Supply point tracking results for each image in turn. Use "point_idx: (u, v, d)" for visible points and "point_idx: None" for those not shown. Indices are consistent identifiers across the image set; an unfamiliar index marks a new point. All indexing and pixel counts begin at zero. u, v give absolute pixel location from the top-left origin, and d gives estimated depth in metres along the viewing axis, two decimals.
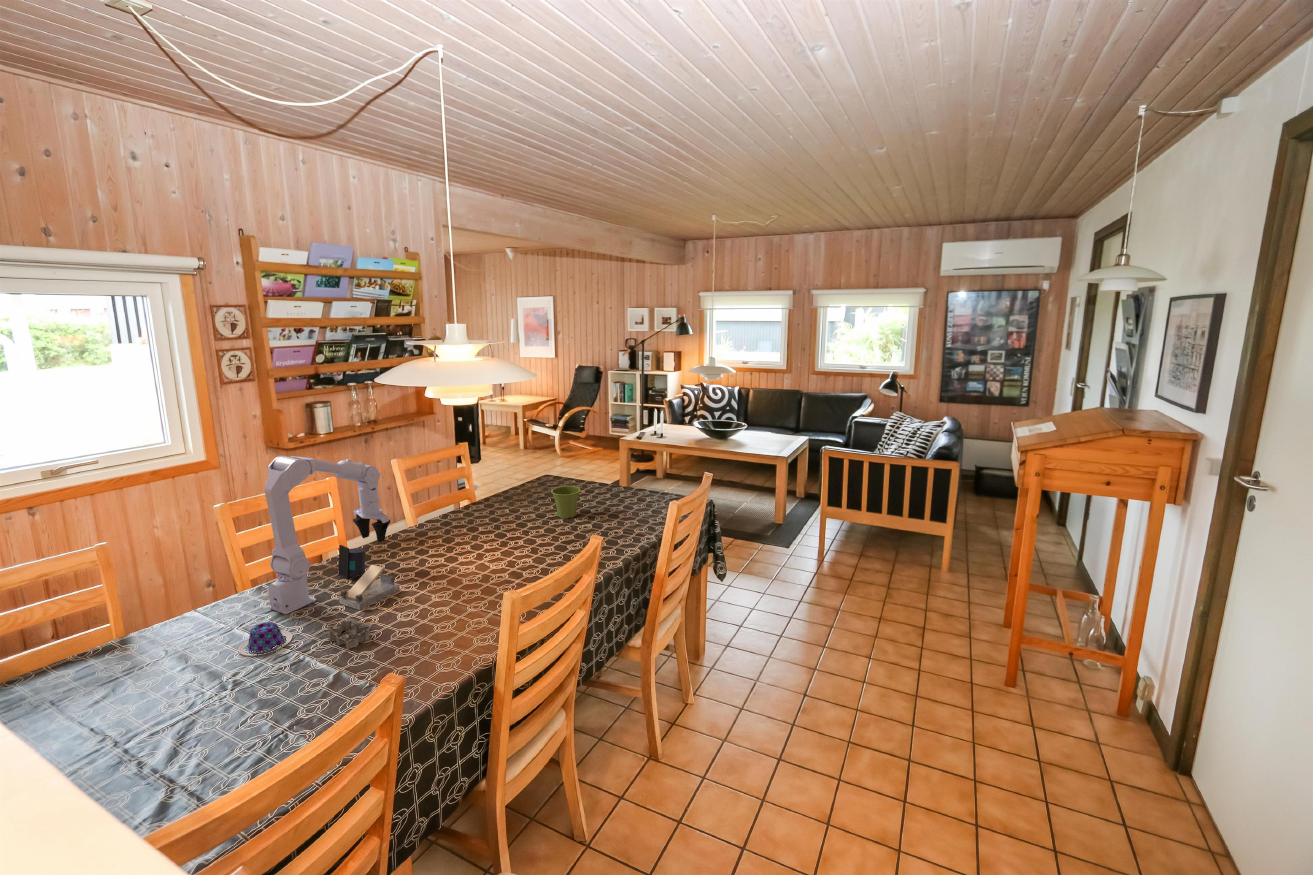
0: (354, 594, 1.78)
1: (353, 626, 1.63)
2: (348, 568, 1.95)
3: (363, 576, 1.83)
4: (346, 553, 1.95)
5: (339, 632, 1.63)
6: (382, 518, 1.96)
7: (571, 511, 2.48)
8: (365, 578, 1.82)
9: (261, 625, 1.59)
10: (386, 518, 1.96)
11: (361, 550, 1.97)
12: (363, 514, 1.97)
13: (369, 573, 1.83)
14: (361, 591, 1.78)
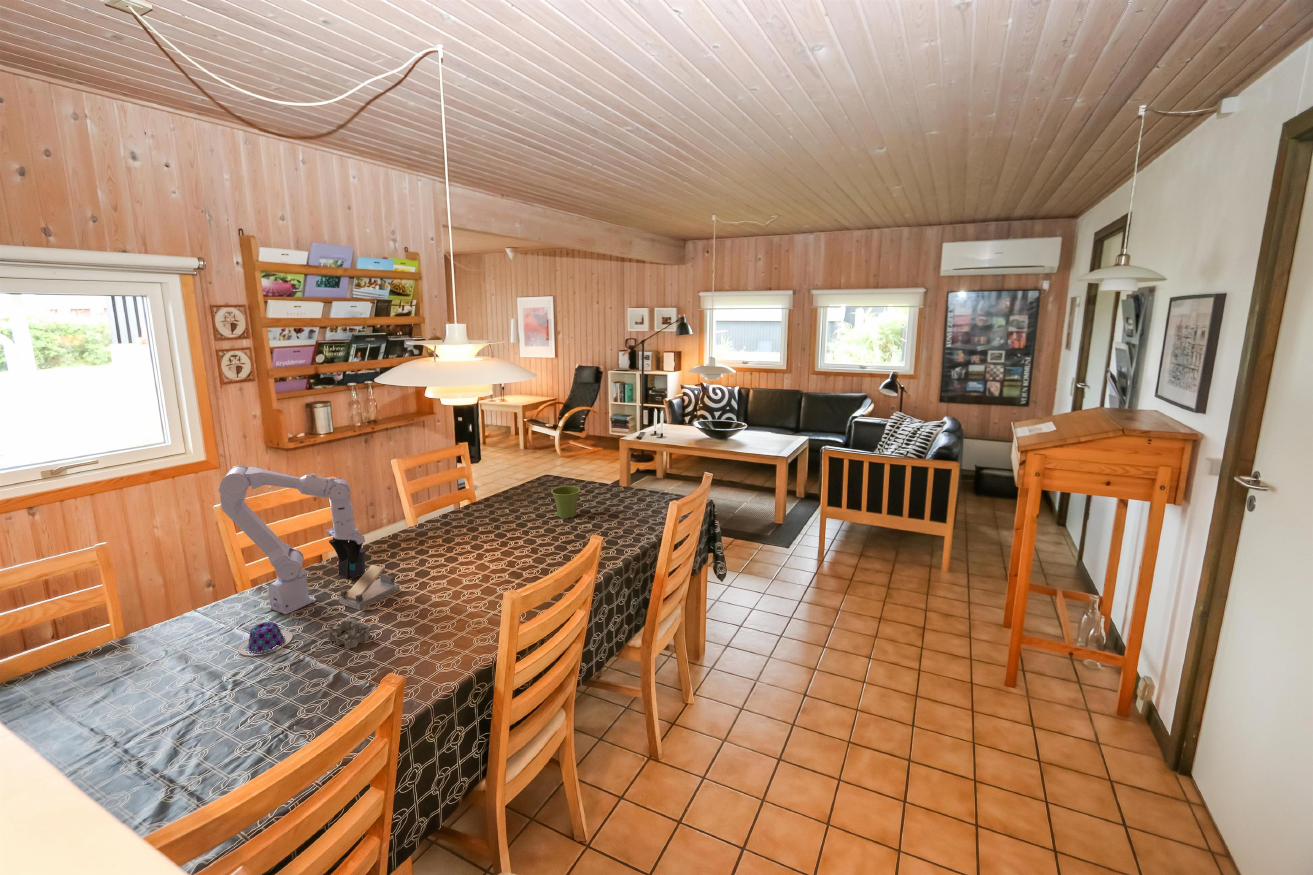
0: (354, 594, 1.78)
1: (353, 626, 1.63)
2: (348, 568, 1.95)
3: (363, 576, 1.83)
4: None
5: (339, 632, 1.63)
6: (357, 539, 1.78)
7: (571, 511, 2.48)
8: (365, 578, 1.82)
9: (261, 625, 1.59)
10: (362, 539, 1.79)
11: (361, 550, 1.97)
12: (336, 535, 1.79)
13: (369, 573, 1.83)
14: (361, 591, 1.78)
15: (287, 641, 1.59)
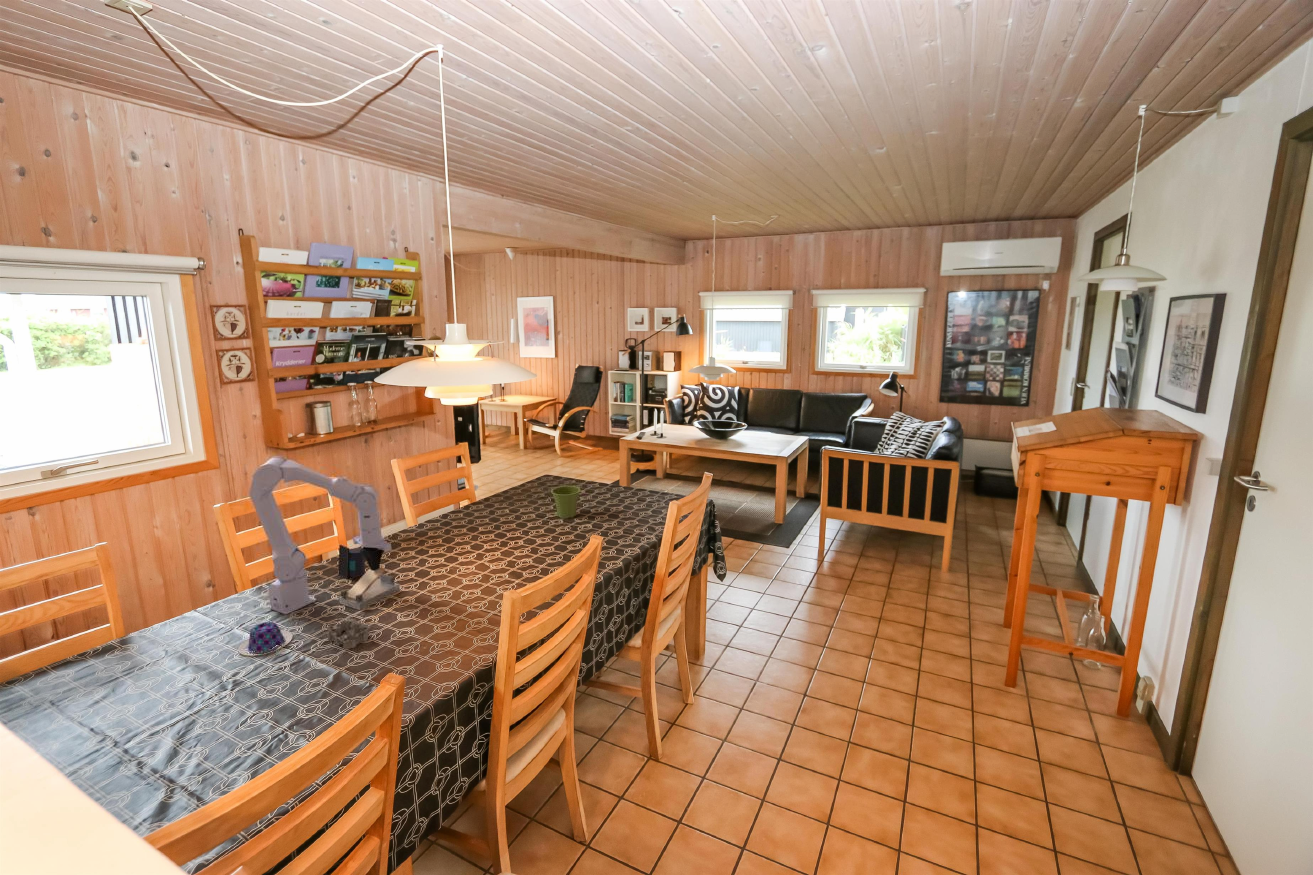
0: (354, 594, 1.78)
1: (352, 626, 1.63)
2: (348, 568, 1.95)
3: (364, 576, 1.83)
4: (346, 553, 1.95)
5: (339, 632, 1.63)
6: (384, 547, 1.78)
7: (571, 511, 2.48)
8: (366, 579, 1.82)
9: (262, 625, 1.59)
10: (389, 547, 1.79)
11: None
12: (363, 542, 1.79)
13: (370, 574, 1.83)
14: (361, 591, 1.78)
15: (287, 642, 1.59)
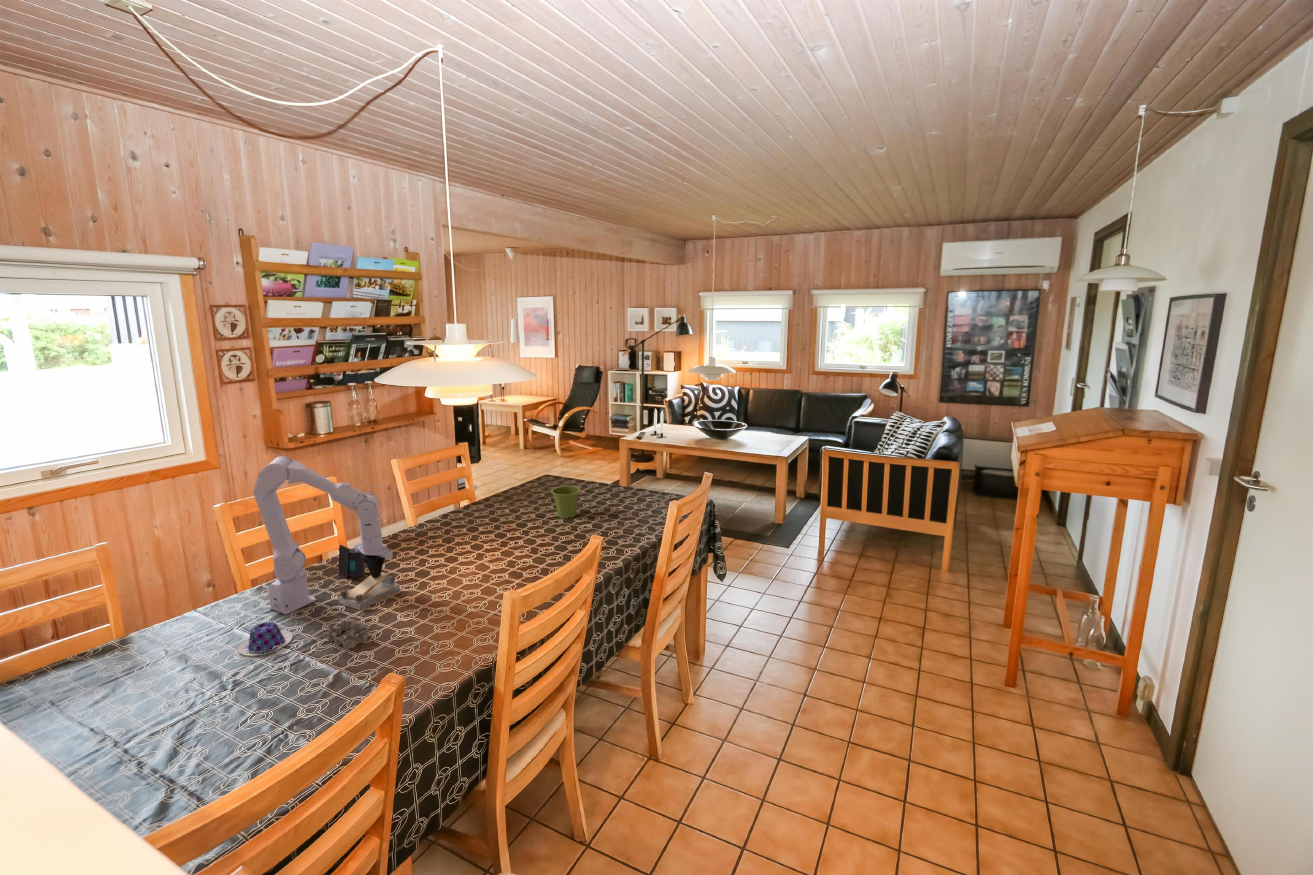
0: (355, 594, 1.78)
1: (352, 626, 1.63)
2: (348, 568, 1.95)
3: (366, 580, 1.84)
4: (346, 553, 1.95)
5: (339, 632, 1.63)
6: (386, 555, 1.79)
7: (571, 511, 2.48)
8: (368, 582, 1.83)
9: (262, 625, 1.59)
10: (390, 554, 1.80)
11: None
12: (365, 550, 1.80)
13: None
14: (362, 592, 1.79)
15: (286, 642, 1.59)
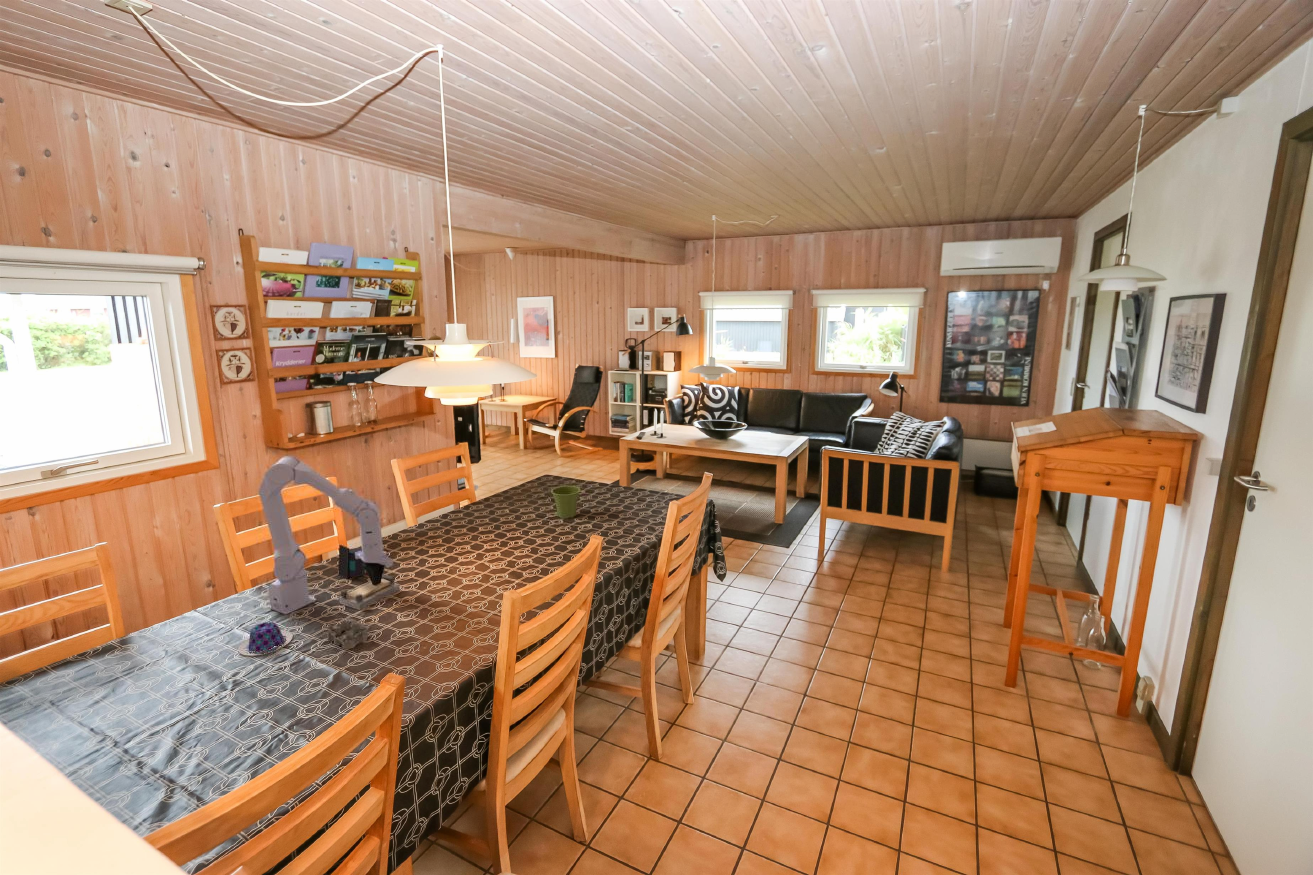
0: (356, 595, 1.78)
1: (352, 627, 1.63)
2: (348, 568, 1.95)
3: (368, 584, 1.85)
4: (346, 553, 1.95)
5: (338, 632, 1.63)
6: (386, 562, 1.79)
7: (571, 511, 2.48)
8: (370, 586, 1.83)
9: (262, 625, 1.59)
10: (390, 562, 1.80)
11: (361, 550, 1.97)
12: (365, 558, 1.80)
13: None
14: (363, 593, 1.79)
15: (286, 642, 1.59)
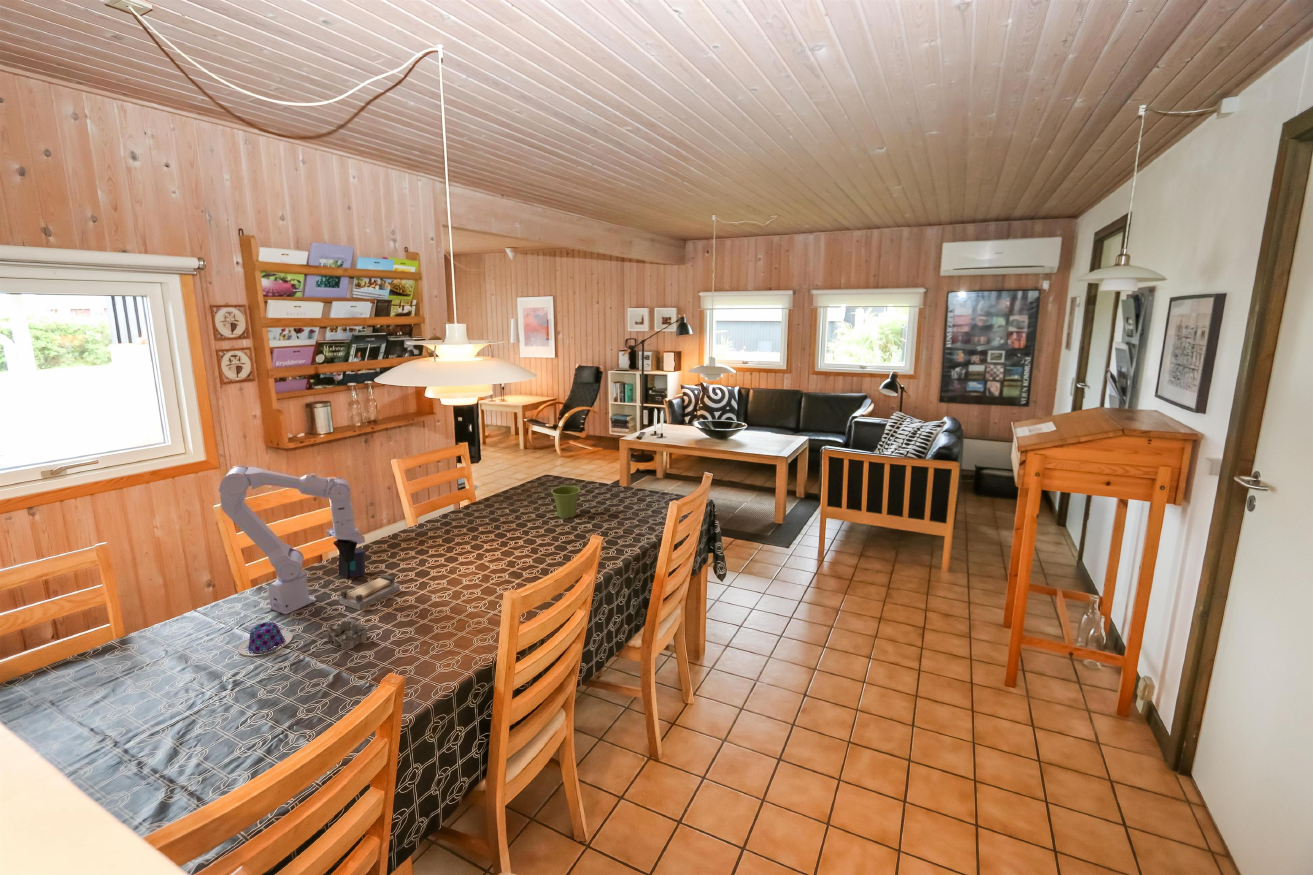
0: (356, 595, 1.78)
1: (352, 627, 1.63)
2: (348, 568, 1.95)
3: (368, 584, 1.85)
4: None
5: (338, 632, 1.63)
6: (357, 539, 1.78)
7: (571, 511, 2.48)
8: (370, 586, 1.83)
9: (263, 624, 1.59)
10: (362, 539, 1.79)
11: (361, 550, 1.97)
12: (336, 535, 1.79)
13: (375, 583, 1.85)
14: (363, 593, 1.79)
15: (285, 643, 1.58)
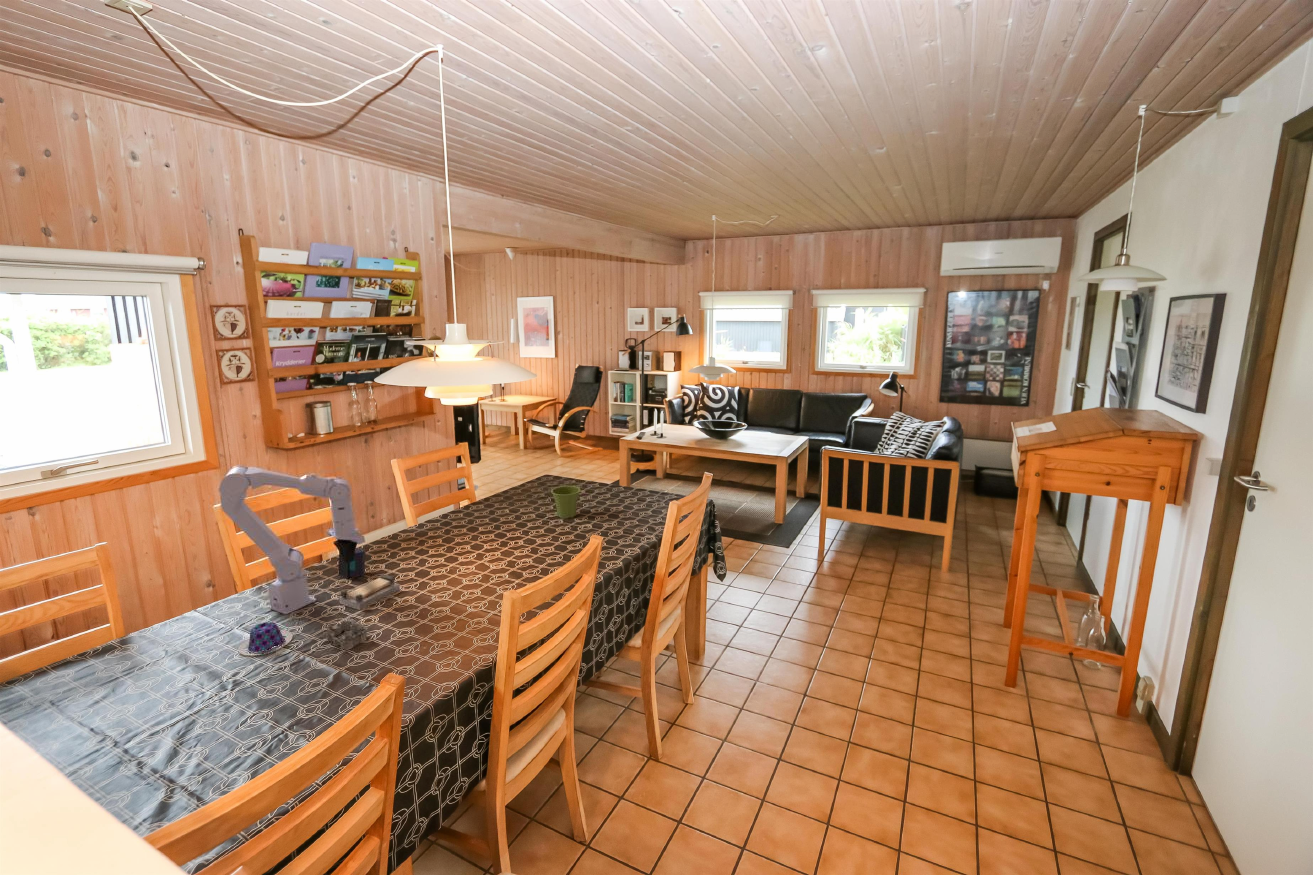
0: (356, 595, 1.78)
1: (352, 627, 1.63)
2: (348, 568, 1.95)
3: (368, 584, 1.85)
4: None
5: (338, 632, 1.63)
6: (357, 539, 1.78)
7: (571, 511, 2.48)
8: (370, 586, 1.83)
9: (263, 624, 1.59)
10: (362, 539, 1.79)
11: (361, 550, 1.97)
12: (336, 535, 1.79)
13: (375, 583, 1.85)
14: (363, 593, 1.79)
15: (285, 643, 1.58)
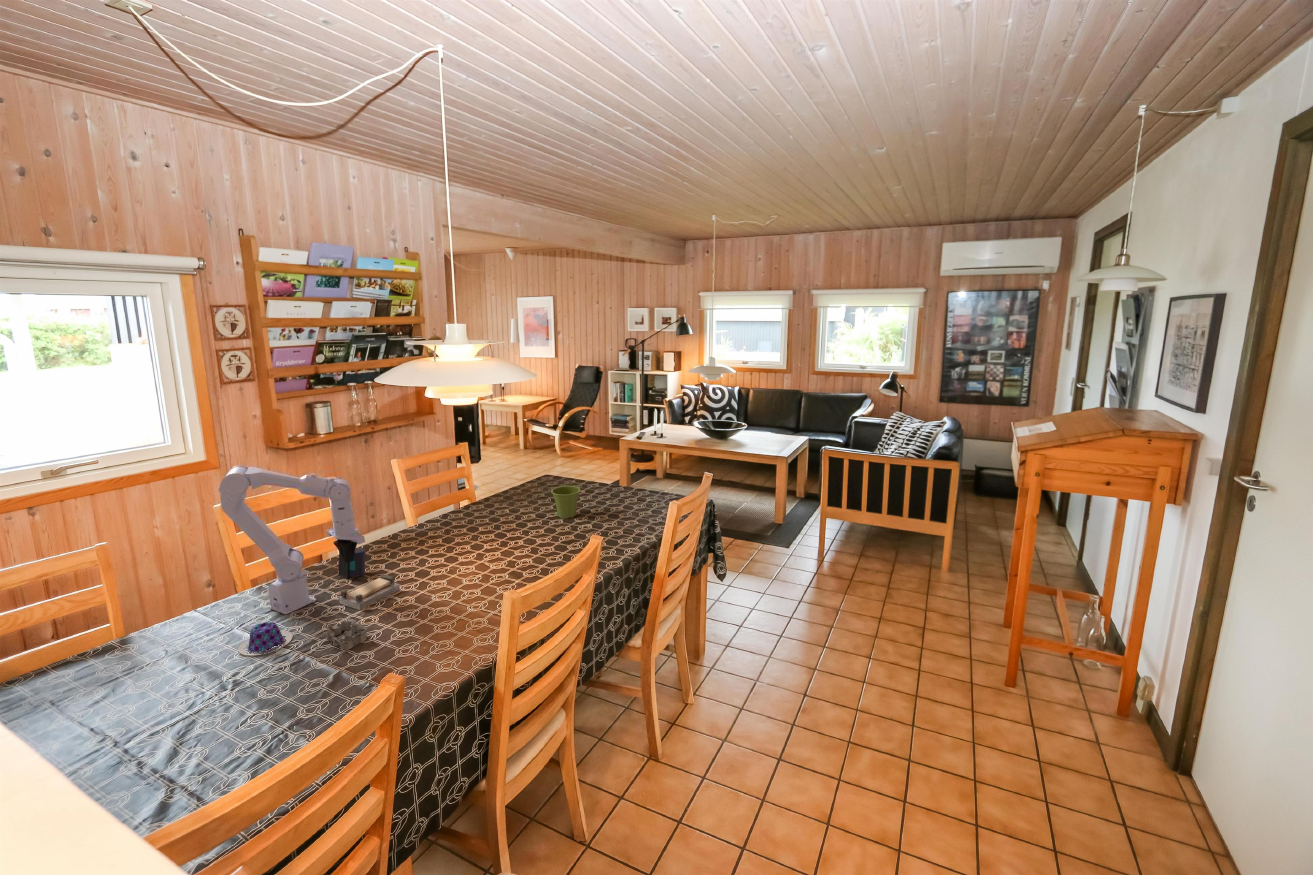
0: (356, 595, 1.78)
1: (352, 627, 1.63)
2: (348, 568, 1.95)
3: (368, 584, 1.85)
4: None
5: (338, 632, 1.63)
6: (357, 539, 1.78)
7: (571, 511, 2.48)
8: (370, 586, 1.83)
9: (263, 624, 1.59)
10: (362, 539, 1.79)
11: (361, 550, 1.97)
12: (336, 535, 1.79)
13: (375, 583, 1.85)
14: (363, 593, 1.79)
15: (285, 643, 1.58)
